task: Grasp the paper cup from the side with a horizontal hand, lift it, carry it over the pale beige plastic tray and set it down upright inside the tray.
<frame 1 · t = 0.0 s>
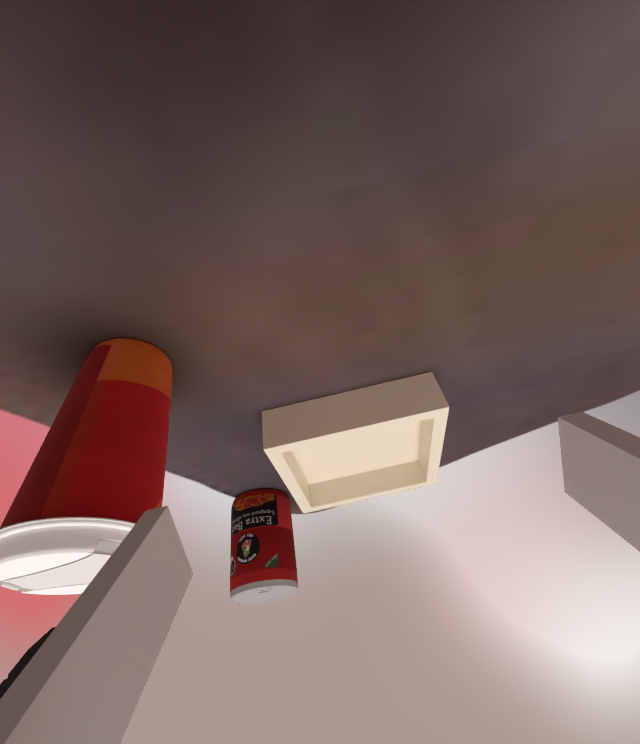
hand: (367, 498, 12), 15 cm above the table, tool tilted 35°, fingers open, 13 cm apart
tray: (355, 435, 38), on the table
canned food: (260, 499, 47), on the table
paper cup: (134, 363, 26), on the table
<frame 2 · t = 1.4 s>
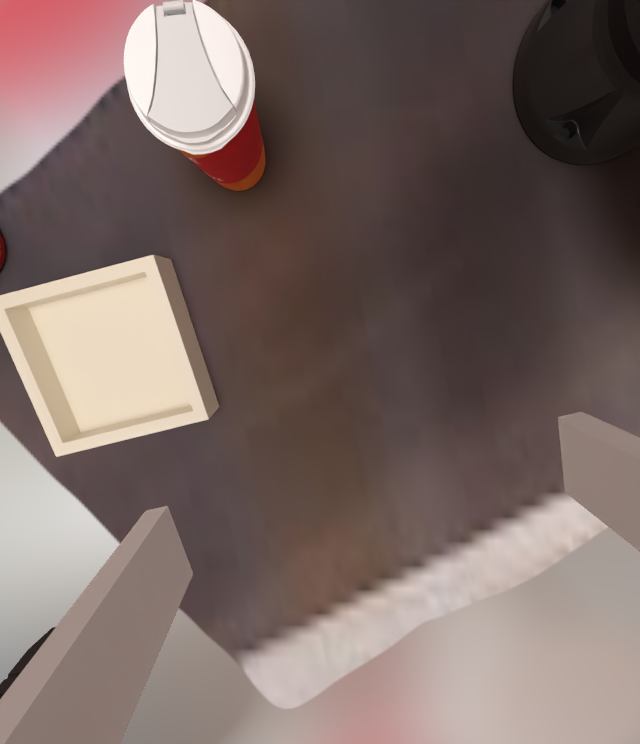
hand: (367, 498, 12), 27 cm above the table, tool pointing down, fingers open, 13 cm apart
tray: (124, 354, 37), on the table
paper cup: (237, 161, 34), on the table
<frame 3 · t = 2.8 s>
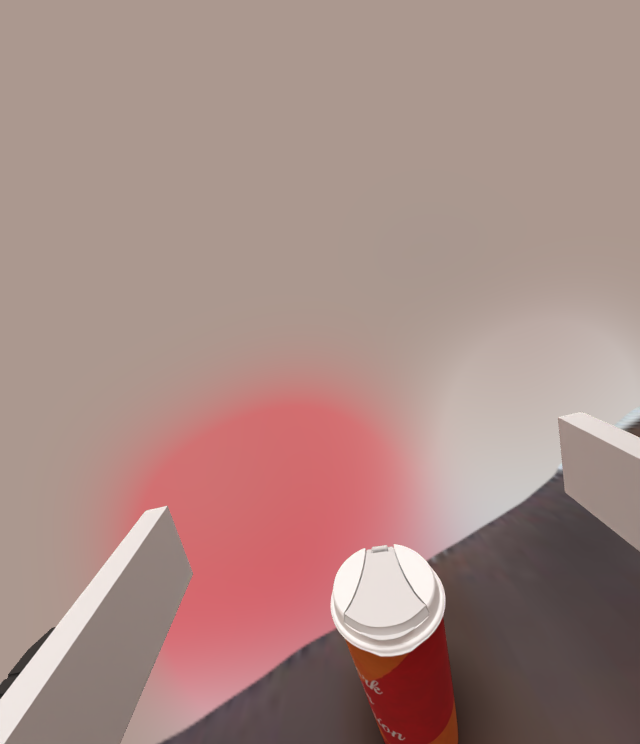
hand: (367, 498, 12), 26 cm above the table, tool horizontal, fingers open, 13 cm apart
paper cup: (420, 732, 27), on the table
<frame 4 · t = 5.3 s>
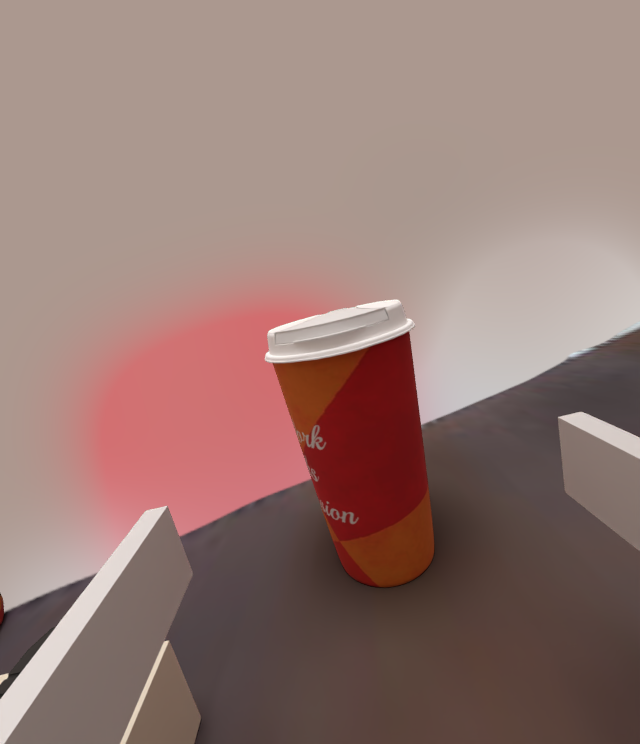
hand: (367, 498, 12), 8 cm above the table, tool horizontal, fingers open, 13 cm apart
paper cup: (386, 552, 21), on the table
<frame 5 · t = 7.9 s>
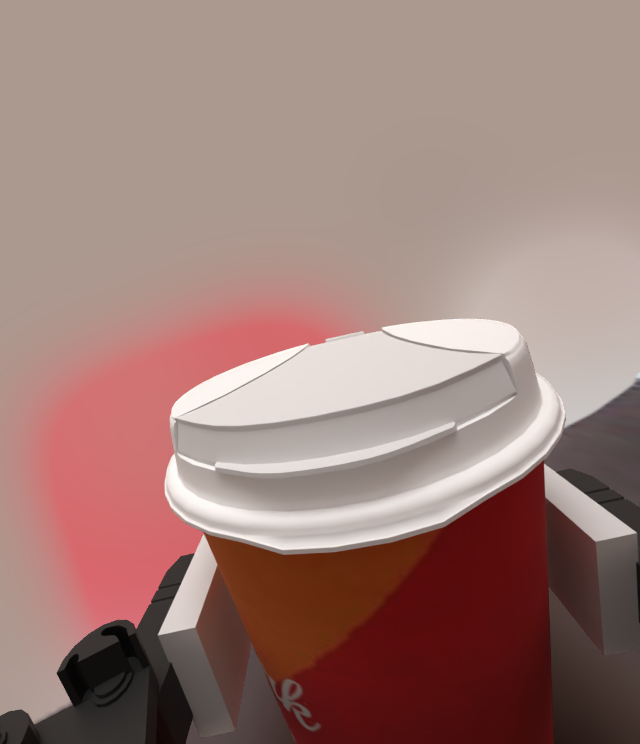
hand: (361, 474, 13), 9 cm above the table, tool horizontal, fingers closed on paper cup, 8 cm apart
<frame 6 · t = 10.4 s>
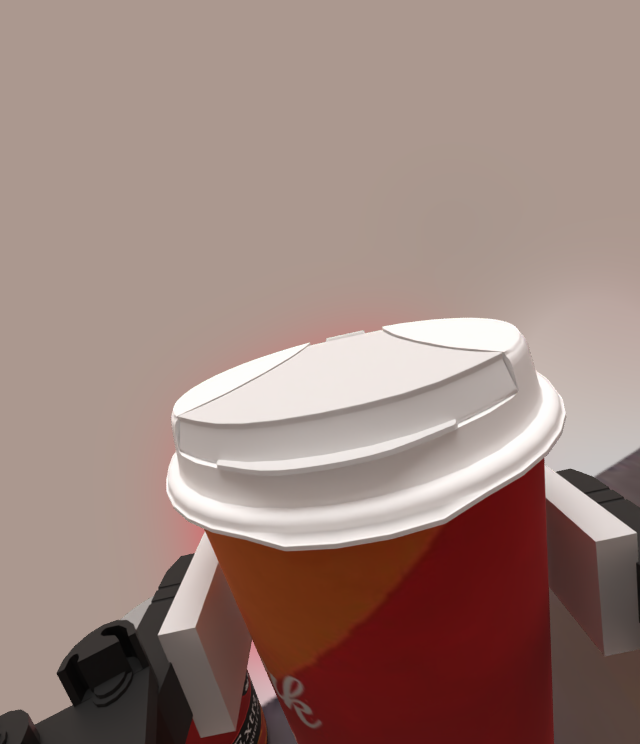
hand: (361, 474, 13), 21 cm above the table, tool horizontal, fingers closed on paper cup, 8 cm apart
when the fingers open (10 cm above the table, at t = 13.1 s): paper cup stays where it is, resting on tray.
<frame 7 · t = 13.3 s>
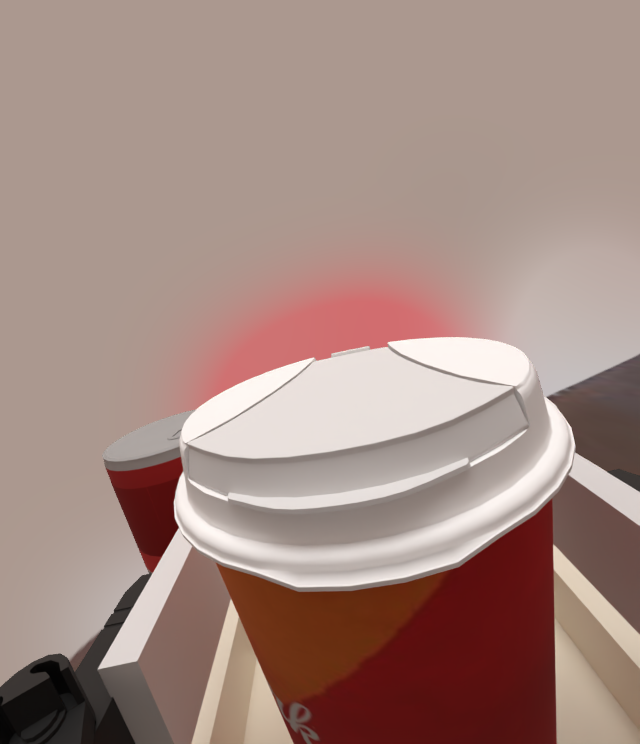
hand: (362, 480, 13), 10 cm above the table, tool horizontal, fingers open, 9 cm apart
canned food: (221, 575, 25), on the table
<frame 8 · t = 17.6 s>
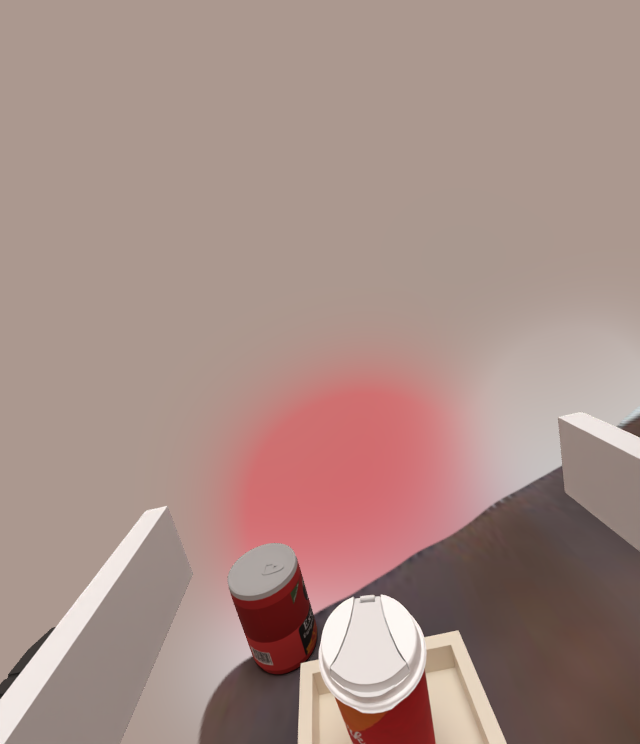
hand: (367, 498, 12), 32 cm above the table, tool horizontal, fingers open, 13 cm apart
canned food: (286, 644, 42), on the table
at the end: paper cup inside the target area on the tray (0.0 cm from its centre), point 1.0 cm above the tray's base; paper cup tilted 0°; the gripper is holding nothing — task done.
